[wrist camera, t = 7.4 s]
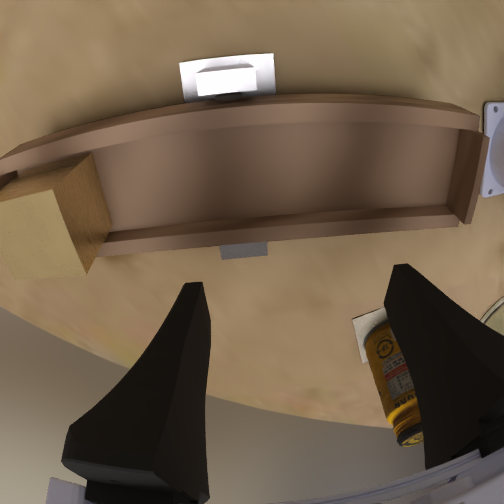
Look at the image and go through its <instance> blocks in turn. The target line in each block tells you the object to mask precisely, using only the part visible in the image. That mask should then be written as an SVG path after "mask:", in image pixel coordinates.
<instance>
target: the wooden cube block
mask: <svg viewBox="0 0 504 504" xmlns="http://www.w3.org/2000/svg"><path fill="white" fill-rule="evenodd" d="M112 226H113V222H112V219H111V215H110V212H109V209H108V206H107V203H106V199H105V196H104V193H103V189H102V186H101V182H100V179H99V175H98V172H97V168H96V164H95V160H94V157H93V153H92V152H91V153H87V154H83V155H79V156H74V157H70V158H66V159H63V160H59V161H55V162H51V163H48V164H44V165H41V166H37V167H34V168H30V169H27V170H24V171H22V172H21V173H20V174H19V175H17V176H16V177H15V178H14V179H12V180H11V181H10V182H9V183H8V184H7V185H5V186H4V187H3V188H2V189H1V190H0V253H1V255H2V257H3V259H4V261H5V263H6V265H7V267H8V268H9V270H10V272H11V274H12V276H13V278H14V279H15V280H20V279H34V278H49V277H63V276H77V275H87V273H88V271H89V269H90V267H91V265H92V263H93V261H94V259H95V257H96V256H97V254H98V252H99V250H100V248H101V246H102V244H103V242H104V241H105V239H106V237H107V235H108V233H109V232H110V230H111V228H112Z"/></svg>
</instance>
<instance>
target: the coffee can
mask: <svg viewBox="0 0 504 504" xmlns="http://www.w3.org/2000/svg"><path fill="white" fill-rule="evenodd" d="M480 321H481V322H482V323H484V324H485V325H487V326H488V327H490V328H492V329H493V330H495V331H497V332H498V333H500V334H502V335H504V297H502V298H501V299H500V300H499V301H498V302H496V303H495V304H494V305H493V306H492V307H491V308H490V309H489V310H488V311H487V312H486V314H485V315H484V316H483V317H482V319H481V320H480Z"/></svg>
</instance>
